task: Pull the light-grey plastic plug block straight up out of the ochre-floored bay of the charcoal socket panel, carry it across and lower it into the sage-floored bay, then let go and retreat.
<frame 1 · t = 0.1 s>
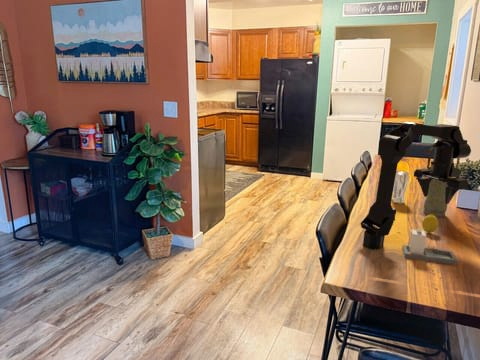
hand: (435, 200, 133), 15 cm above the table, fingers open, 9 cm apart
grey marbled block: (397, 202, 177), on the table
plug: (415, 254, 120), point 1 cm above the table, touching socket panel
lemon: (428, 233, 139), on the table
socket panel: (428, 258, 119), on the table
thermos: (433, 214, 161), on the table
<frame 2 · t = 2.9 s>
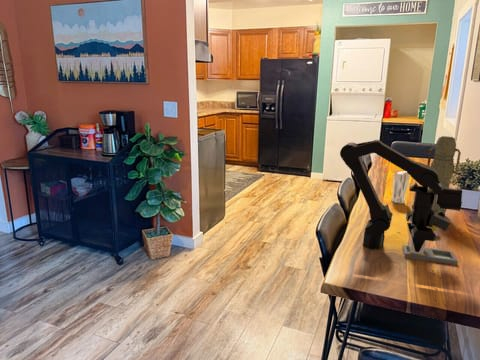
hand: (416, 248, 120), 3 cm above the table, fingers closed on plug, 4 cm apart
plug: (415, 254, 120), point 1 cm above the table, touching gripper, socket panel
everything else where it was.
when the fingers open (4 cm above the table, at t = 6.9 s): plug stays where it is, resting on socket panel.
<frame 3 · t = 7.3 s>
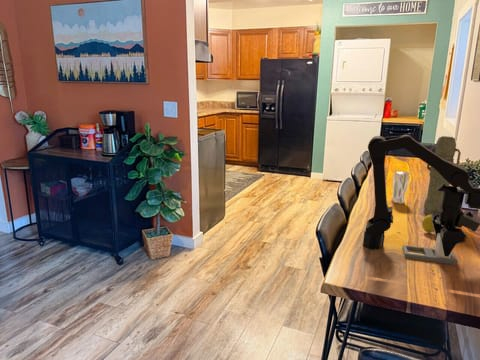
hand: (443, 249, 117), 4 cm above the table, fingers open, 9 cm apart
plug: (441, 258, 118), point 1 cm above the table, touching socket panel
everything else where it was.
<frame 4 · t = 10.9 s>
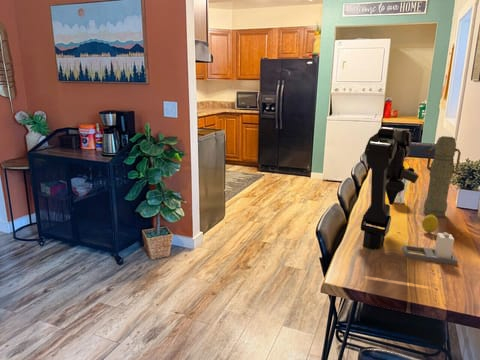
hand: (390, 200, 138), 12 cm above the table, fingers open, 9 cm apart
nothing on the table moved.
at the end: plug 0.0 cm from the target spot, point 0.7 cm above the table; plug tilted 0°; the gripper is holding nothing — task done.
